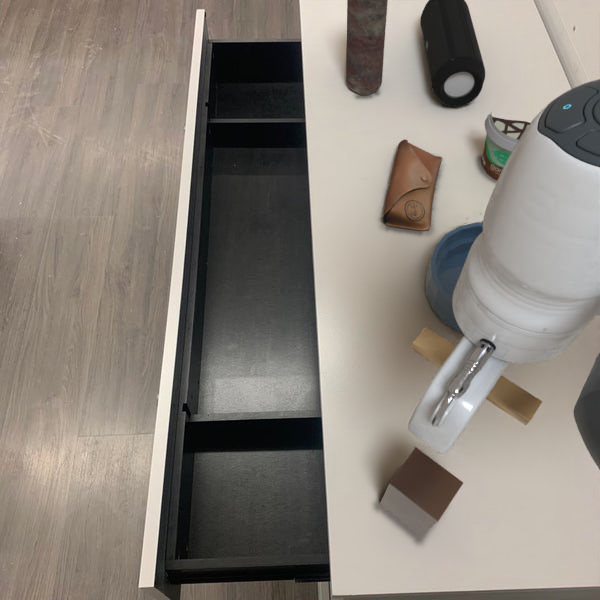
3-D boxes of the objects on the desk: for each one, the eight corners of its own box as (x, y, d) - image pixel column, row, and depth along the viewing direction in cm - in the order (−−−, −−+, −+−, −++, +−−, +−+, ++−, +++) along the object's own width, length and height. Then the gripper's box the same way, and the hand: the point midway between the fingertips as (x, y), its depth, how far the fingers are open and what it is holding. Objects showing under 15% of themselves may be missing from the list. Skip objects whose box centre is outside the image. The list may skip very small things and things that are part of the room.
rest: (442, 503, 66) (463, 482, 56) (420, 537, 64) (438, 521, 54) (402, 472, 68) (415, 446, 58) (379, 504, 66) (389, 483, 56)
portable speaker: (415, 34, 117) (423, -13, 108) (461, 32, 116) (472, -14, 108) (428, 111, 103) (438, 66, 95) (480, 110, 103) (494, 64, 94)
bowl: (560, 283, 82) (576, 260, 77) (504, 363, 75) (517, 345, 70) (461, 229, 88) (470, 204, 83) (402, 298, 82) (407, 277, 77)
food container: (467, 179, 94) (481, 135, 85) (473, 155, 97) (488, 110, 88) (539, 195, 91) (561, 151, 83) (543, 170, 94) (565, 125, 86)
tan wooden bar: (537, 406, 48) (542, 401, 46) (525, 425, 47) (531, 420, 45) (423, 333, 52) (425, 326, 51) (410, 349, 51) (412, 342, 50)
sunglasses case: (432, 231, 87) (417, 205, 83) (394, 238, 91) (377, 214, 87) (443, 155, 96) (430, 127, 92) (407, 165, 100) (393, 139, 96)
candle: (337, 86, 108) (339, -14, 91) (358, 68, 111) (364, -32, 94) (367, 101, 106) (375, 1, 89) (388, 82, 108) (400, -19, 91)
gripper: (487, 440, 32) (443, 488, 44) (622, 229, 40) (554, 318, 52) (399, 380, 34) (380, 441, 46) (544, 191, 42) (495, 285, 54)
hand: (473, 375), depth 49 cm, fingers closed on tan wooden bar, 2 cm apart
